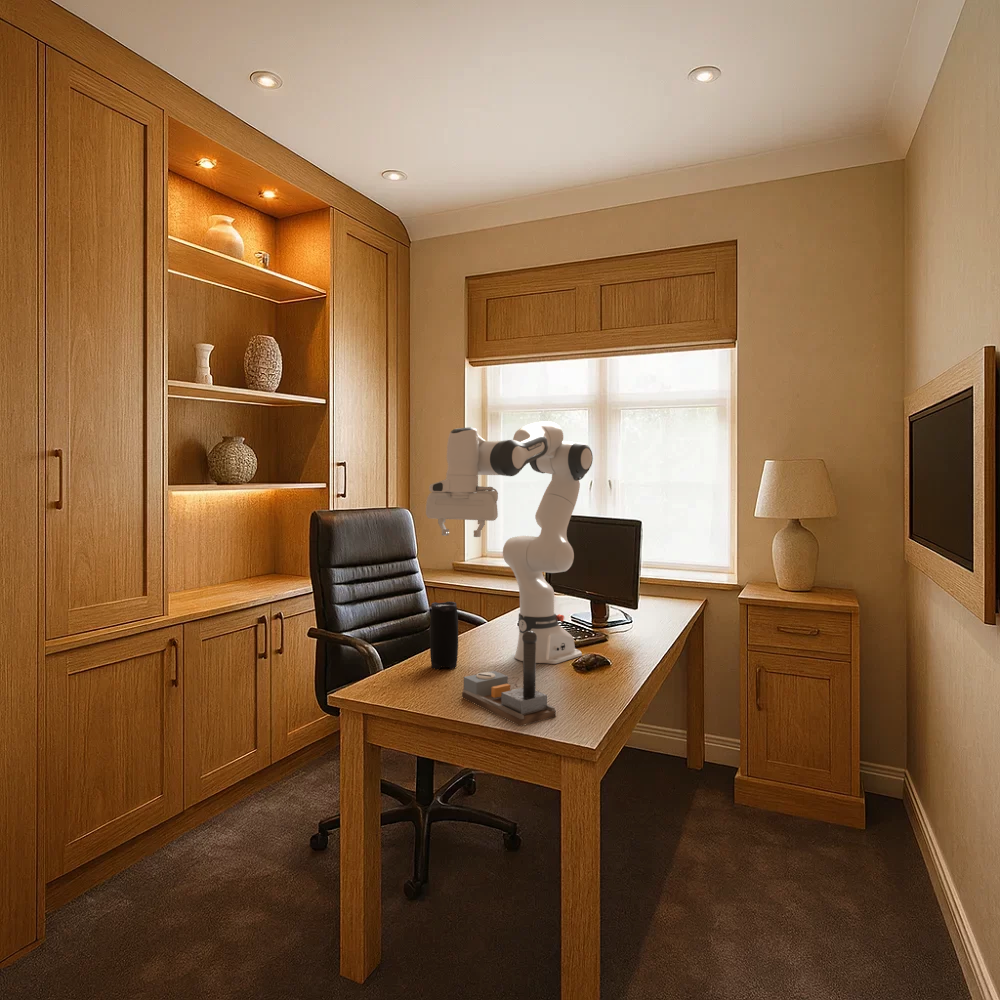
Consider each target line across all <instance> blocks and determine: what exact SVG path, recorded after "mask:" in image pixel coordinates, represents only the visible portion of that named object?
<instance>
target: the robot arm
mask: <svg viewBox="0 0 1000 1000" xmlns="http://www.w3.org/2000/svg"><path fill="white" fill-rule="evenodd" d="M593 459H594V458H593V452H592V449H591V447H590V445H588V444H586V443H583V442H580V441H576V442H575V441H574V442H573V441H568V440H564V432H563V429H562V428H561V426H560V425H559V424H557V423H555V422H553V421H537V422H532V423H530V424H529V423H528V424H526V425H524V426H521V427H520V428H518V429H517V430H516V431H515V433H514V434H513V438H512V439H504V440H486V439H484V438H482V437H481V436H480V434H479V433H478V430H477V428H476V427H471V426H470V427H459V428H453V429H452V430H451V431H450V432H449V434H448V438H447V444H446V462H447V470H446V475H445V476H446V477H445V478H446V479H442V480H439V481H436V482H434V483H431V484H430V485H428V486H429V488H428V489H429V492H430V493H429V494H428V496H427V497H426V504H425V515H426V517H427V518H428V519H434V520H437V524H438V526H439V527H440V530H441V536H444V537H445V536H449V534H450V529H449V528H446V525H445V523H446V520H463V521H464V520H466V521H477V525H478V526H477V529H475V530H473V537H474V538H481V535H482V534H481V533H482V530H483V528H484V527H485V525H486V521H491V522H492V521H493V522H494V521H496V520H497V518H498V517H499V513H498V512H499V511H498V503H497V501H499V500H498V499H499V496H498V495H499V493H498V490H497V489H495V488H494V487H493V486H479V476H505V477H515V476H516V475H518V474H519V473H520V472H521V471H522V469H523V468H525V466H526V465H528V464H529V465H530V467H531V469H532V470H533V471H534V472H536V473H541V474H549V475H551V481H550V482H549V483H548V485H547V487H546V489H545V491H544V494H543V495H542V498H541V500H540V502H539V505H538V507H537V510H536V512H535V521H536V522H535V523H537V525H538V526H539V527H540V528H541V530H540V533H539V535H538V536H532V535H531V536H529V535H519V536H514V537H513V536H512V537H510V538H508V539H507V540H506V541H505V543H504V545H503V548H502V557H503V560H504V562H505V563H506V565H507V566H508V567H509V568H510V569H511V571H512V572H513V575H514V577H515V580H516V582H517V586H518V592H519V593H518V594H519V613H518V622H517V623H518V639H517V646H516V649H515V654H514V658H515V659H516V660H517V661H519V662H520V661H521V662H523V640H522V636H523V634H524V633H525V632H526V631H533V632H535V633H536V635H537V641H536V664H552V665H555V664H559V663H562V662H566V661H568V660H572V659H575V658H578V657H581V656H583V653H582V651H581V650H580V649H577V648H576V647H575V646H576V645H575V640H574V636H572V634H570V632H568V631H567V630H565V629H564V627H562V626H561V625H559V621H560V622H564V621H565V616H564V615H563V614H560V613H559V614H556V613H555V591H554V588H553V586H552V585H550V584H549V583H548V582H547V581H546V579H545V577H544V573H549V574H556V573H563V572H564V573H565V572H567V571H568V570H569V569H570V568H571V567H572V566H573V563H574V559H575V553H574V548H573V546H572V545H571V543H570V542H569V540H568V537H567V532H568V531H567V530H568V527H569V523H570V520H571V517H572V515H573V512H574V510H575V507H576V504H577V501H578V497H579V492H580V486H581V483H580V480H582V479H583V478H584V477H585V475H586V474H587V473H588V472H589V471H590V469H591V467H592V464H593Z"/></svg>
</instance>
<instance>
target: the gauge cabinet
mask: <svg viewBox="0 0 1000 1000" xmlns="http://www.w3.org/2000/svg"><path fill="white" fill-rule="evenodd" d="M508 680H509V676H508V675H506V674H503V673H501V672H498V671H496V670H491V671H484V672H478V673H476V674H472V675H467V676H463V689H465V690H467V691H469V692H471V693H474V694H476V695H478V694H479V695H481V696H487V695H491V687H494V686H498V685H503V684H509V683H508V682H509V681H508Z"/></svg>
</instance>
